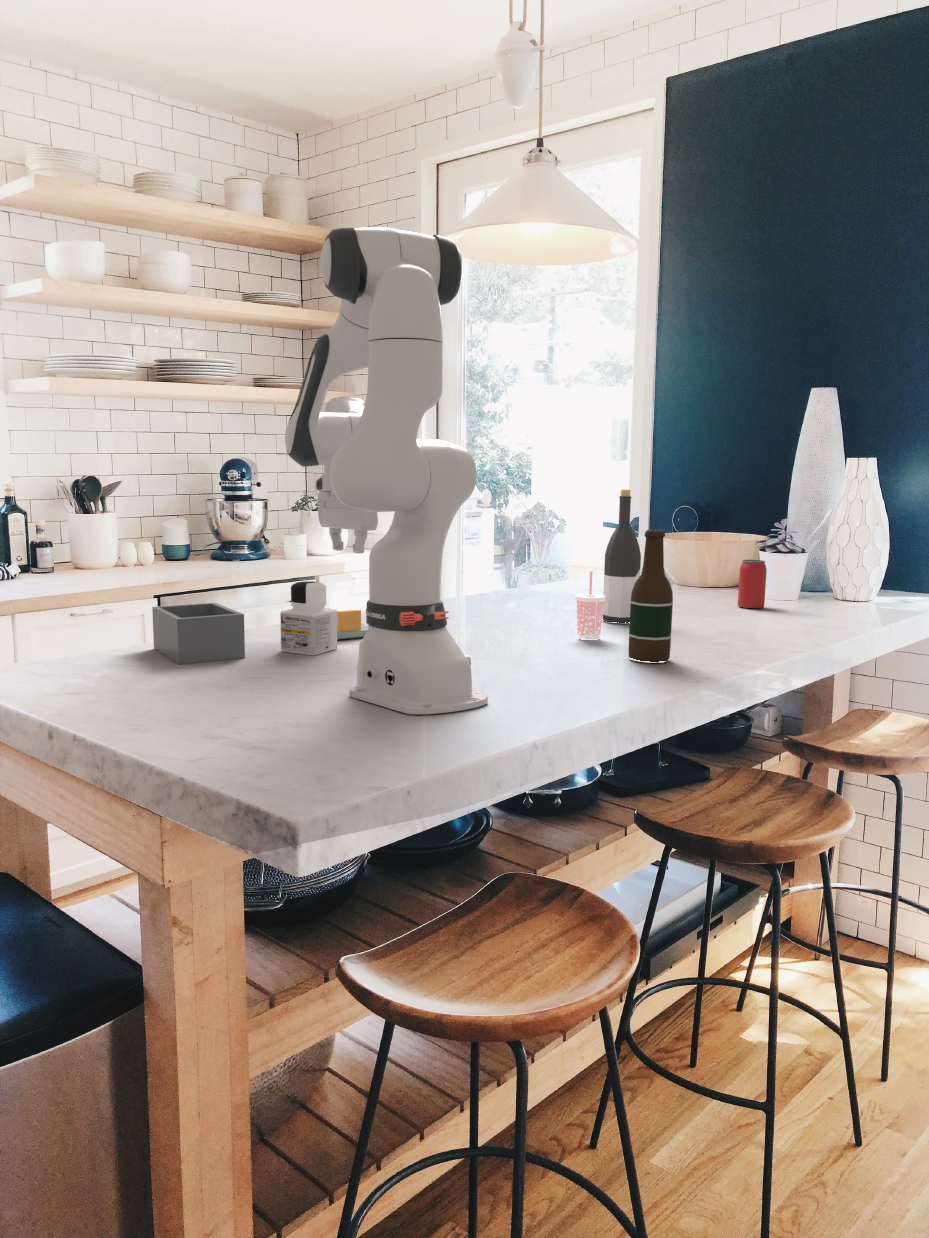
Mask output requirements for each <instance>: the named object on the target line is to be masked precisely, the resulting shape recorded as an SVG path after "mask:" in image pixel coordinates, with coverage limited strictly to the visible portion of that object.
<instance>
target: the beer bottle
mask: <svg viewBox="0 0 929 1238" xmlns="http://www.w3.org/2000/svg"><path fill="white" fill-rule="evenodd" d="M644 537H645V546H644V552H643V553H644V554H643V562H642V563H643V564H642V568H641V572H640V577H639V578H638V580H637V581H636V582H635V584H634V587H633V589H632V594H631V604H630V624H629V626H628V627H629V628H628V629H629V632H628V658H629V657H630V658H633V659H636V660H640V661H650V662H659V661H667V660H668V659H669V660H670V657H671V649H672V648H671V646H672V645H671V644H672V643H671V642H672V628H673V627H672V624H673V605H674V603H673V602H674V595H673V594H674V593H673V588H672V585H671V582H670V581H669V579H668V577H667V576H666V574H665V563H664V560H665V558H664V555H665V554H664V552H665V551H664V550H665V549H664V538H665V537H666V534H665V530H662V529H648V530H647V529H646V530H645V532H644ZM669 660H668V661H669ZM668 661H667V662H668Z"/></svg>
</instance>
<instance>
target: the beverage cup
mask: <svg viewBox="0 0 929 1238" xmlns="http://www.w3.org/2000/svg"><path fill="white" fill-rule="evenodd" d="M588 588H589V591H588V592H589V593H579V594H576V595H574V596H575V597H574V598H575V601H576V622H577V623H576V624H577V625H576V628H577V629H576V630H577V631H576V632H577V638H578V637H579V638H585V639H598V638H600V639H601V633H602V623H603V605H604V601H605V596H604V595H603V594H595V593H593V592H592V590H593V571H589V587H588Z"/></svg>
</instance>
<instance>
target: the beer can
mask: <svg viewBox="0 0 929 1238" xmlns="http://www.w3.org/2000/svg"><path fill="white" fill-rule="evenodd" d="M738 577H739V578H738V592H737V593H738V594H737V605H738V608H741V607H743V608H742V609H745V608H755V609H754V610H759V609H758V608H761V609H763V608H764V607H765V602H766V600H765V598H766V586H767V566H766V561H765V560H761V559H742V563H741V565H740V568H739V576H738ZM756 608H757V609H756Z"/></svg>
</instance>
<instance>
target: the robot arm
mask: <svg viewBox="0 0 929 1238" xmlns="http://www.w3.org/2000/svg"><path fill="white" fill-rule="evenodd" d="M319 258H320V259H319V260H320V261H319V265H320V266H319V267H320V272H321V276H322V279H323V282H324V286H325V288H326V289H327V290H328V291H329V292H330V293H331V295H333V296H335V297H337V298H340V299H341V301H340V306H339V307H340V308H339V312H338V316H337V319H335V322H334V324H333V325H332V327H331V328H330V329H329V330H328V331H327V332H326V333H324V334H322V335H320V336H319V337H318V338H317V340H316V342H315V344H314V346H313V347H312V351H311V353H310V356H309V359H308V362H307V366H306V369H305V372H304V375H303V379H302V382H301V385H300V388H299V392H298V395H297V399H296V401H295V402H296V403H295V405H294V408H293V411H292V412H291V414H290V417H289V420H288V423H287V425H286V428H285V433H284V444H285V450H286V454H287V455H288V456H289V457H290V459H292V460H293V461H294V462H295V463H297V464H298V465H299V466H301V467H302V468H304V467H316V466H320V465H323V473H322V475H321V476H320V477H318V478H317V479H316V480H315V483H314V488H315V491H317V492H318V493H317V496H316V497H317V500H316V501H317V516H318V522H319V525H320V527H322V528H328V530H329V532H328V533H329V536H330V539H331V542H332V550H333V551H335V552H336V551H340V552H341V551H343V550H344V541H342V535H341V534H342V530H351V531H354V534H353V535H354V536H355V538H354V539H355V540H354V543H352V552H353V554H364V553H365V544H366V541H367V538H368V531H376V530H377V528H378V525H379V517H378V515H379V514H378V513H387V512H388V513H390V512H391V513H392V512H394V514H393V518H392V521H391V524H390V527H389V528H388V530H387V532H386V533H385V535H384V536H383V537H382V538H380V539H379V540H378V541H377V542H375V544H374V545H373V546H372V547H371V550H370V552H369V557H368V558H369V562H368V563H369V564H368V565H369V567H368V568H369V569H368V570H369V571H368V573H369V574H368V575H369V576H368V579H369V581H368V582H369V583H368V584H369V585H368V587H369V588H368V589H369V592H368V593H369V594H368V595H369V598H368V599H369V600H367V602H366V608H365V615H366V616H365V617H366V619H365V620H366V625H367V626H368V630H367V632H366V634H365V636H364V637H362V638H361V640H360V641H359V644H358V657H357V658H358V659H357V672H356V685H354V686H353V687H351V688H350V689H349V693H348V696H349V697H351V698H354V699H357V700H359V701H364V702H366V703H371V704H373V705H377V706H380V707H383V708H387V709H391V710H394V711H397V712H399V713H404V714H407V715H435V714H444V713H453V712H461V711H466V710H470V709H475V708H480V707H482V706H485V705H486V704H488V703H489V701H488V696H487V695H485V694H484V693H481V692H480V691H479V690H477V689H475V688H473V682H472V681H473V680H472V679H473V677H472V668H471V666H472V661H471V657H470V655H468V654H464V652H463V651H462V650H461V648H460V647H459V646H458V643H457V642H456V641H455V639H454V638H453V637H452V635H451V634H450V632H449V630H448V628H447V625H448V620H447V619H449V618H450V617H449V616H446V615H447V614H449V613H450V612H449V611H447V610H445V606H444V602H443V600H441V595H442V594H441V591H442V589H441V588H442V587H441V586H442V568H443V567H442V564H443V562H442V561H443V553H444V548H445V543H446V539H447V535H448V533H449V530H450V527H451V525H452V522H453V520H454V518H455V516H456V514H457V513H458V511H459V509H460V508H461V507H462V506H463V504H464V503H466V501H467V500H468V499H470V497H471V496H472V494H473V492H474V490H475V487H476V483H477V476H478V474H477V468H476V463H475V459H474V458H473V457H472V454H471V453H470V452H469V451H468V450H467V449H466V448H464V447H463V446H461V445H458V444H454V443H452V442H449V441H446V440H442V439H437V438H436V439H434V438H433V439H430V438H418V432H419V429H420V425H421V422H422V419H423V417H424V416H425V414H426V412H427V411H429V410H430V409H432V408H433V407H434V406H436V405H437V403H438V402H439V401H440V399H441V397H442V394H443V347H444V346H443V339H444V338H443V320H442V311H441V309H442V308H441V306H443V305H447V304H450V303H451V302H452V300H454V299H455V297H457V295H458V293H459V291H460V287H461V283H462V279H463V271H464V270H463V262H462V259H463V258H462V254H461V251H460V249H459V247H458V245H457V244H456V242H455V241H454V240H452V239H450V238H448V237H445V236H442V235H439V234H433V235H428V234H424V233H419V232H413V231H407V230H400V229H396V228H394V227H392V228H391V227H358V228H355V227H354V226H353V225H352V226H341V227H337V228H333V229H331V231H330V232H329V233H328V234H326V237H325V240H324V244H323V245H322V249H321V253H320V257H319ZM362 369H363V370H364V369H367V387H366V388H367V389H366V397H365V401H364V400H363V399H361V398H357V397H354V396H340V397H333V398H331V399H329V400H328V401H327V402H326V403H325V400H326V399H325V398H326V396H327V393H328V390H329V388H330V386H331V385H332V383H333V382H335V381H336V380H337V379H339V378H341V377H342V376H345V375H348V374H350V373H352V372H355V371H359V370H362ZM324 403H325V408H324V411H323V412H322V410H323V406H324Z"/></svg>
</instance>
